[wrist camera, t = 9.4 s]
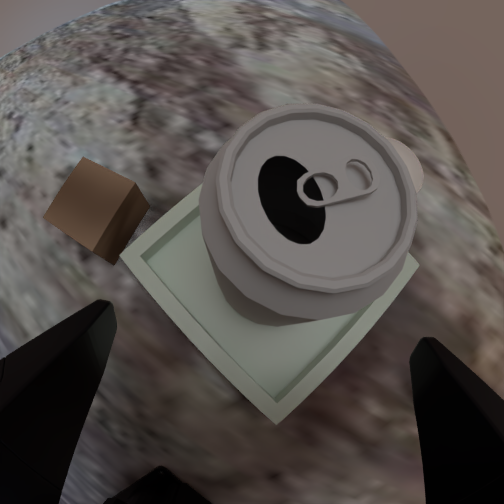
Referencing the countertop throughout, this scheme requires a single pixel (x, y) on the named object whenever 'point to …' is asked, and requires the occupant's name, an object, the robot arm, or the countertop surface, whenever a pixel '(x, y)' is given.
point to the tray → (238, 327)
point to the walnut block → (98, 209)
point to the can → (306, 215)
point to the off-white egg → (409, 162)
